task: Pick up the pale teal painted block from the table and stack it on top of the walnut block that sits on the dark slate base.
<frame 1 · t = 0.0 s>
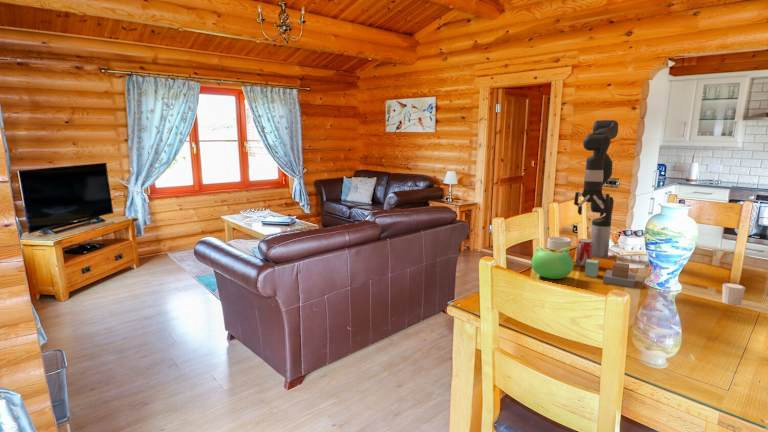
hand: (590, 215, 190), 29 cm above the table, tool pointing down, fingers open, 8 cm apart
soda can: (583, 265, 214), on the table
teal block: (591, 275, 198), on the table
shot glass: (731, 303, 164), on the table
slate base: (619, 281, 189), on the table
mug: (556, 263, 218), on the table
green round pot: (551, 277, 195), on the table
walnut block: (620, 275, 188), point 3 cm above the table, touching slate base
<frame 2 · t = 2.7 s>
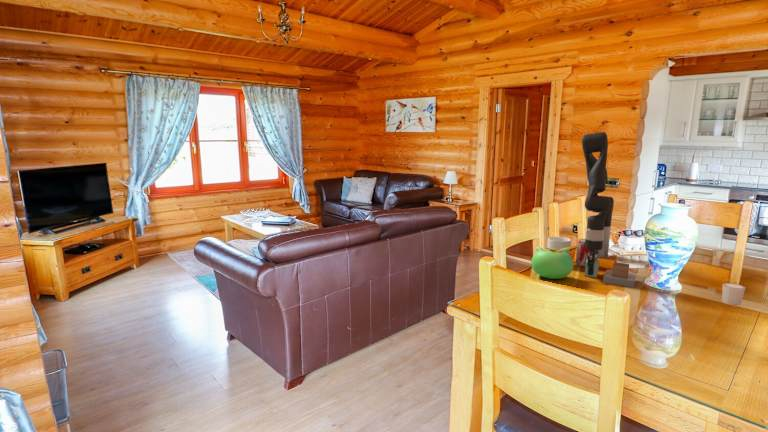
hand: (591, 273, 198), 1 cm above the table, tool pointing down, fingers closed on teal block, 5 cm apart
teal block: (591, 275, 198), on the table, touching gripper
everything else where it was.
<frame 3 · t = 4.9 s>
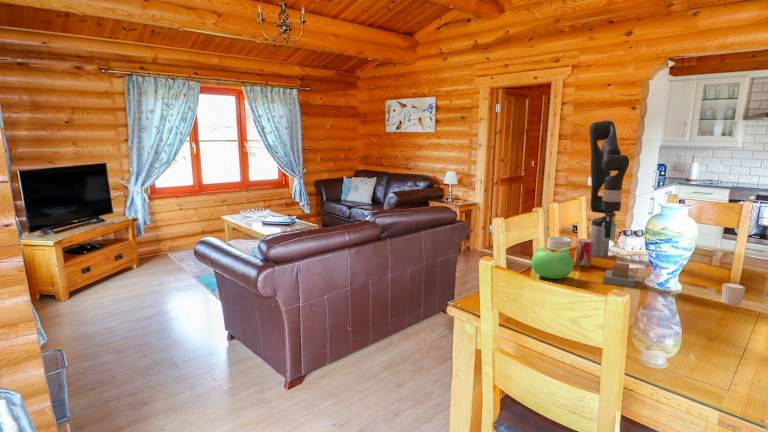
hand: (608, 236, 189), 20 cm above the table, tool pointing down, fingers closed on teal block, 5 cm apart
teal block: (607, 238, 190), point 19 cm above the table, touching gripper
everything else where it was.
when the fingers open (10 cm above the table, at t = 7.4 s): teal block drops 1 cm, resting on walnut block.
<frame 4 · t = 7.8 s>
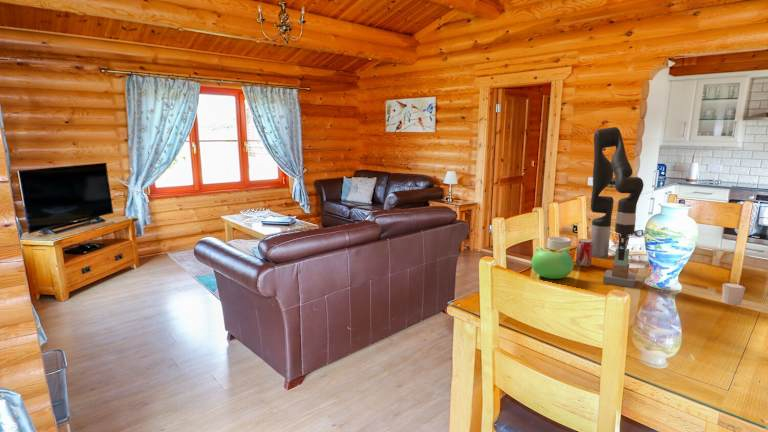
hand: (621, 257, 187), 11 cm above the table, tool pointing down, fingers open, 8 cm apart
teal block: (621, 264, 187), point 8 cm above the table, touching walnut block
walnut block: (620, 275, 188), point 3 cm above the table, touching slate base, teal block
everything else where it was.
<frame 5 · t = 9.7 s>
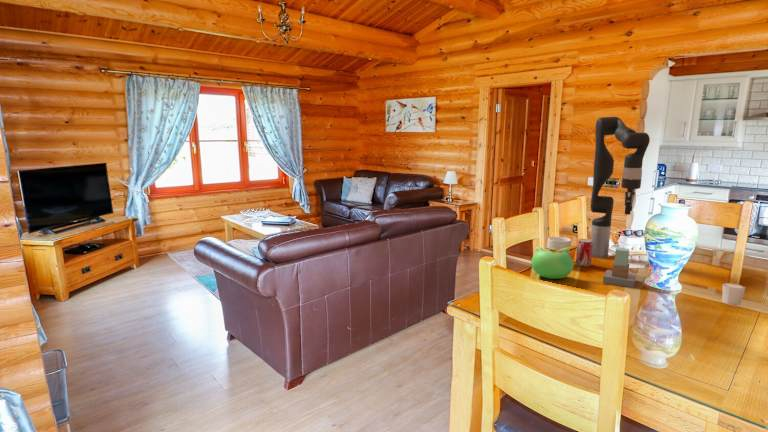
hand: (628, 212, 192), 30 cm above the table, tool pointing down, fingers open, 8 cm apart
nothing on the table moved.
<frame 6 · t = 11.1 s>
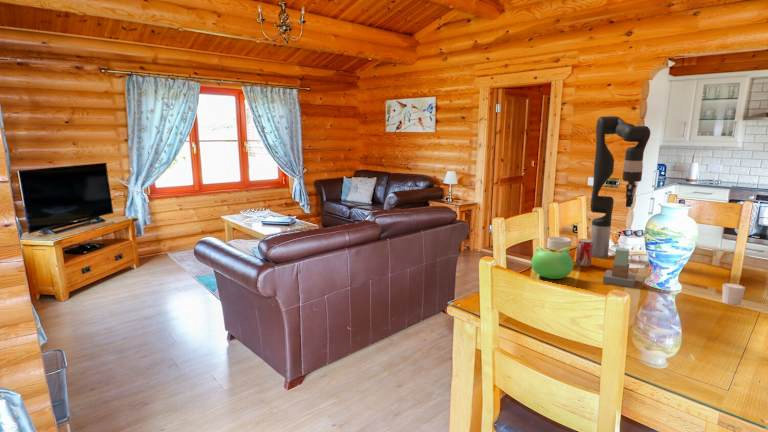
hand: (629, 205, 193), 33 cm above the table, tool pointing down, fingers open, 8 cm apart
nothing on the table moved.
at the end: teal block 0.1 cm off-centre on the walnut block, point 5.0 cm above the walnut block's base; teal block tilted 0°; walnut block moved 0.0 cm from its start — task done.
